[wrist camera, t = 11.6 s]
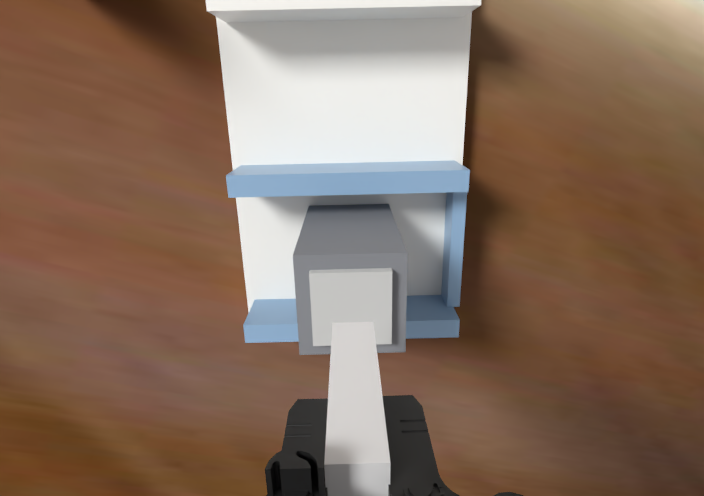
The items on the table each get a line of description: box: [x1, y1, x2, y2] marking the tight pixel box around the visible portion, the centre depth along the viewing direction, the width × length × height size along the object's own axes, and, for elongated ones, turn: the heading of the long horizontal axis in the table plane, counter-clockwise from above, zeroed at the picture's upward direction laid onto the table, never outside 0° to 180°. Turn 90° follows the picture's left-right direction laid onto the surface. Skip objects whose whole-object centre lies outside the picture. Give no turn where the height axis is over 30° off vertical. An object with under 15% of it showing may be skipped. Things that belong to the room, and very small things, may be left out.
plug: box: [293, 204, 408, 355], centre depth 24 cm, size 5×5×9 cm
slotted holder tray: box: [206, 0, 481, 343], centre depth 24 cm, size 30×14×4 cm, turn 1°
